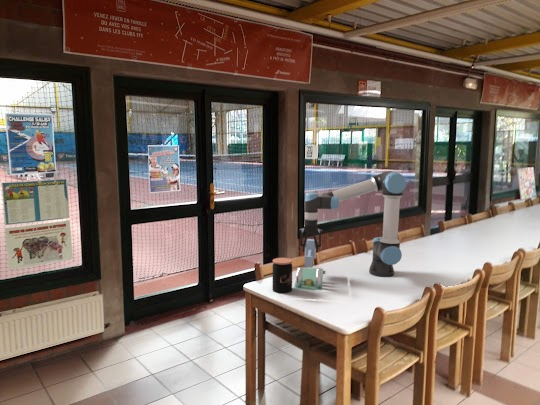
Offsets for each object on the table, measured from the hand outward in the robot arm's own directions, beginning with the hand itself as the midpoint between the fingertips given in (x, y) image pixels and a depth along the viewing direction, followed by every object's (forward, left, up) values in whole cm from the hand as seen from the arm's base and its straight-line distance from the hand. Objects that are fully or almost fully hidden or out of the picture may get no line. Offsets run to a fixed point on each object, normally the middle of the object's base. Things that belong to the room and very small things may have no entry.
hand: (310, 257), depth 247 cm
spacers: (0, +12, -13) cm, 17 cm away
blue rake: (0, +6, 0) cm, 6 cm away
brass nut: (0, +13, -13) cm, 18 cm away
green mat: (0, 0, -14) cm, 14 cm away
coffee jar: (+14, +23, -14) cm, 31 cm away
